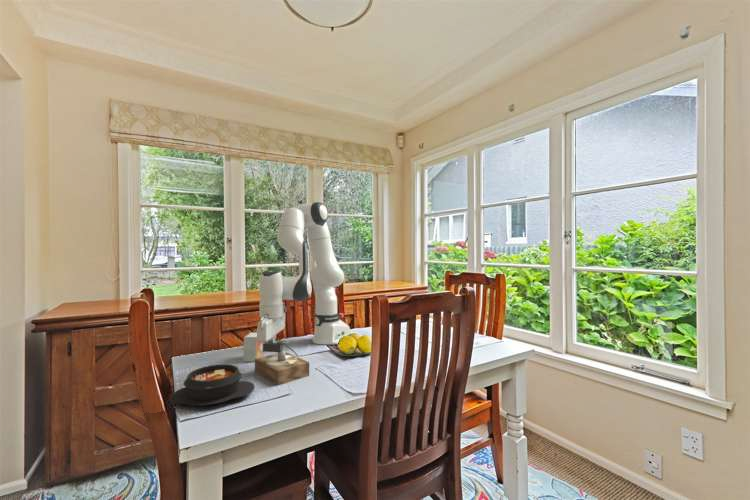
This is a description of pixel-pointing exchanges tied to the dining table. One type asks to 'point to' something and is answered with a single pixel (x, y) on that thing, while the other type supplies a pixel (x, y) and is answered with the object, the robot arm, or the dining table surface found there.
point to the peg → (276, 349)
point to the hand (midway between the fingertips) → (271, 346)
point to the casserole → (212, 386)
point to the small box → (252, 348)
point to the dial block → (281, 368)
